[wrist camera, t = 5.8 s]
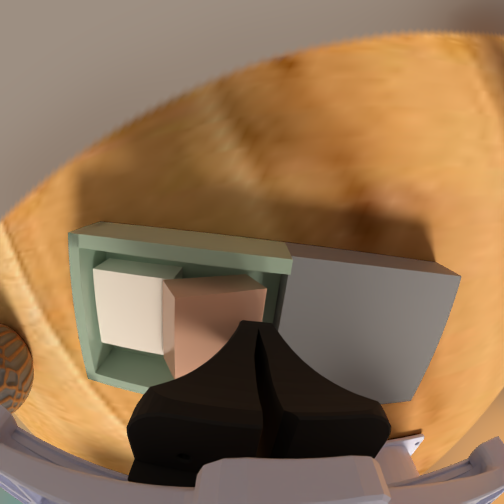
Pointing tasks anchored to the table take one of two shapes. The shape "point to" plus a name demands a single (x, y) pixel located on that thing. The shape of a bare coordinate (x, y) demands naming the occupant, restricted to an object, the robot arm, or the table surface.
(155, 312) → the tile ivory
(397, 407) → the table surface
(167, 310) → the tile terracotta
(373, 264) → the ledge
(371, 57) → the table surface
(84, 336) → the box
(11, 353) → the vase
